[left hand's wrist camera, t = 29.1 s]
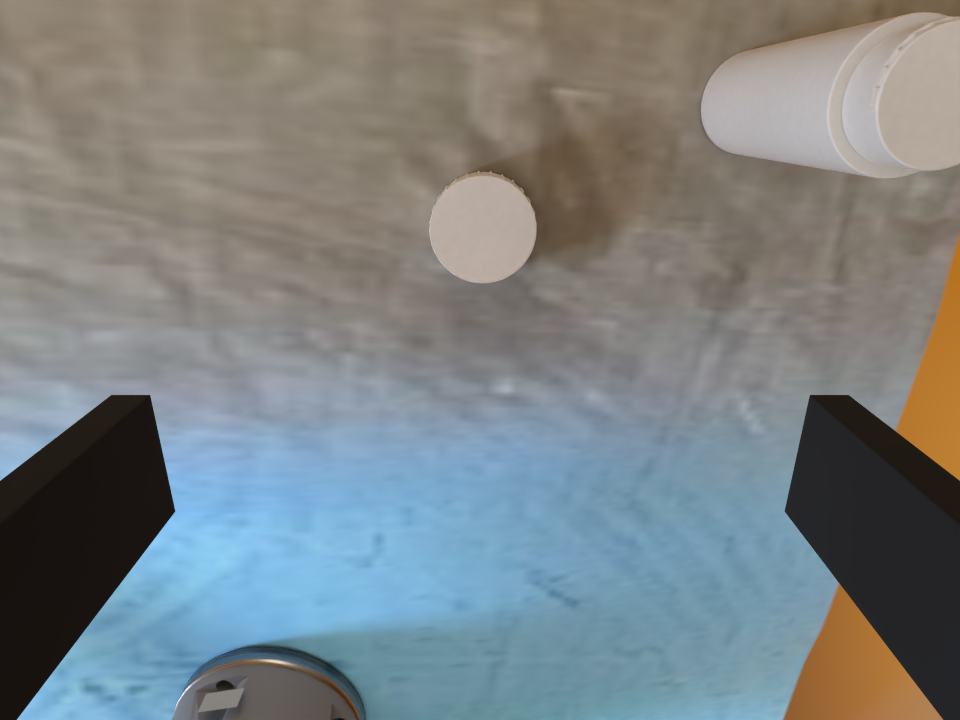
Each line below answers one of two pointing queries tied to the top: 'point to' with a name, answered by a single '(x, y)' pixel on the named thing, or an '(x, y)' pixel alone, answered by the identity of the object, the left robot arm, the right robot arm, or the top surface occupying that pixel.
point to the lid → (483, 227)
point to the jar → (845, 98)
